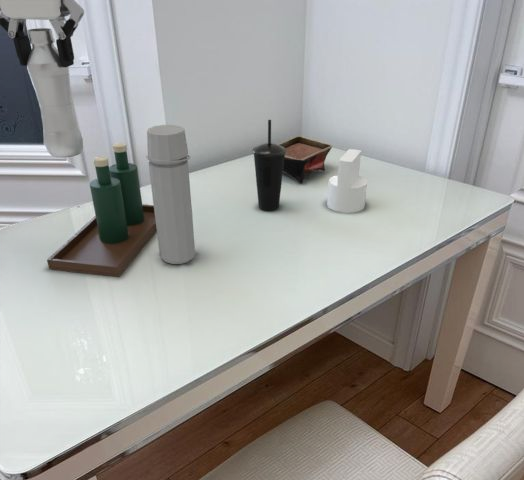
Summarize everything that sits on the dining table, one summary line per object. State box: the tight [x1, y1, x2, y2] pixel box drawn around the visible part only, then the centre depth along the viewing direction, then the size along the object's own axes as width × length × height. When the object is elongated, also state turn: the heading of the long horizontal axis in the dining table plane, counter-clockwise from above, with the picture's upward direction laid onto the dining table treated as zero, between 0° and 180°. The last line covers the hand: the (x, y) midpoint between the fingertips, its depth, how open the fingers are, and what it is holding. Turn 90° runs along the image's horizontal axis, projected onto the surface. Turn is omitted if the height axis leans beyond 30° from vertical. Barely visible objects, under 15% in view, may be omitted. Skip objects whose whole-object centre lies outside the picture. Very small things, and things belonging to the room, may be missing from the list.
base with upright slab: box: [326, 148, 368, 214], centre depth 129 cm, size 9×9×12 cm
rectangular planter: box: [277, 135, 333, 184], centre depth 149 cm, size 14×18×10 cm
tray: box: [46, 203, 157, 278], centre depth 117 cm, size 15×30×2 cm, turn 168°
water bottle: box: [146, 124, 196, 265], centre depth 105 cm, size 9×8×25 cm
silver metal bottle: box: [26, 27, 84, 159], centre depth 94 cm, size 6×7×20 cm
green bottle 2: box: [109, 142, 144, 226], centre depth 120 cm, size 6×6×17 cm
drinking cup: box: [251, 119, 286, 212], centre depth 126 cm, size 8×8×20 cm
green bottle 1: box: [89, 155, 129, 243], centre depth 113 cm, size 6×6×17 cm
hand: (47, 64), depth 91 cm, fingers closed on silver metal bottle, 6 cm apart
